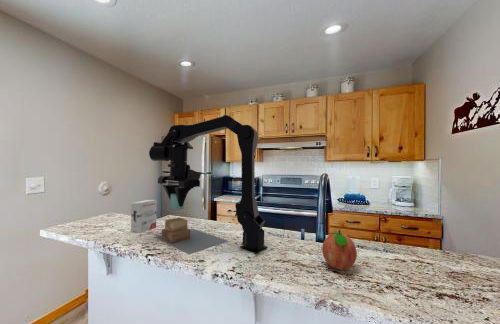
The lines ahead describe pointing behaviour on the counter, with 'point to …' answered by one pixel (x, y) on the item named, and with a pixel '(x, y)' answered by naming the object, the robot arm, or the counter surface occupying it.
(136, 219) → the ink box
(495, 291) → the counter surface
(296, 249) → the counter surface
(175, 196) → the teal cylinder
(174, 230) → the oak block
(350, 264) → the fruit
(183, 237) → the walnut base block
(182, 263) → the counter surface
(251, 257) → the counter surface
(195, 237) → the slate mat
